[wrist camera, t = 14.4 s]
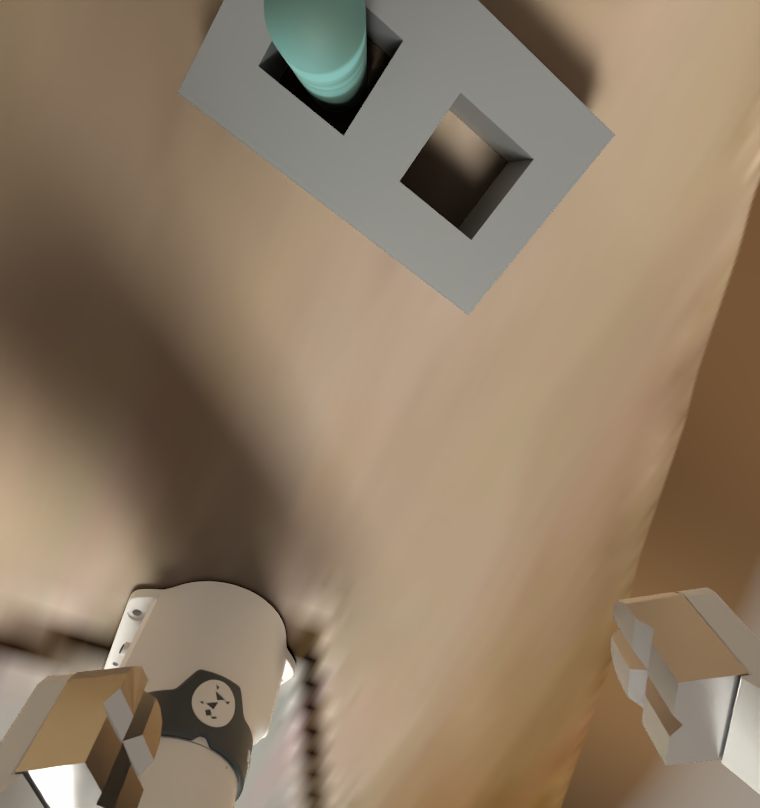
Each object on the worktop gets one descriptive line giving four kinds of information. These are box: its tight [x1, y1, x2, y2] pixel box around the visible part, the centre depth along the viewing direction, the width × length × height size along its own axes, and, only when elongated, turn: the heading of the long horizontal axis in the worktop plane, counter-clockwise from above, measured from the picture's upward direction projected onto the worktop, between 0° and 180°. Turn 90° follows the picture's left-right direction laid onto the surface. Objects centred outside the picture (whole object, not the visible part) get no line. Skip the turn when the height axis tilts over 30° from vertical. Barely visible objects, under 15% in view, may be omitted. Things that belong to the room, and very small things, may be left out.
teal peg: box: [264, 0, 367, 112], centre depth 26 cm, size 4×4×14 cm
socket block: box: [178, 0, 615, 315], centre depth 31 cm, size 13×21×6 cm, turn 54°
